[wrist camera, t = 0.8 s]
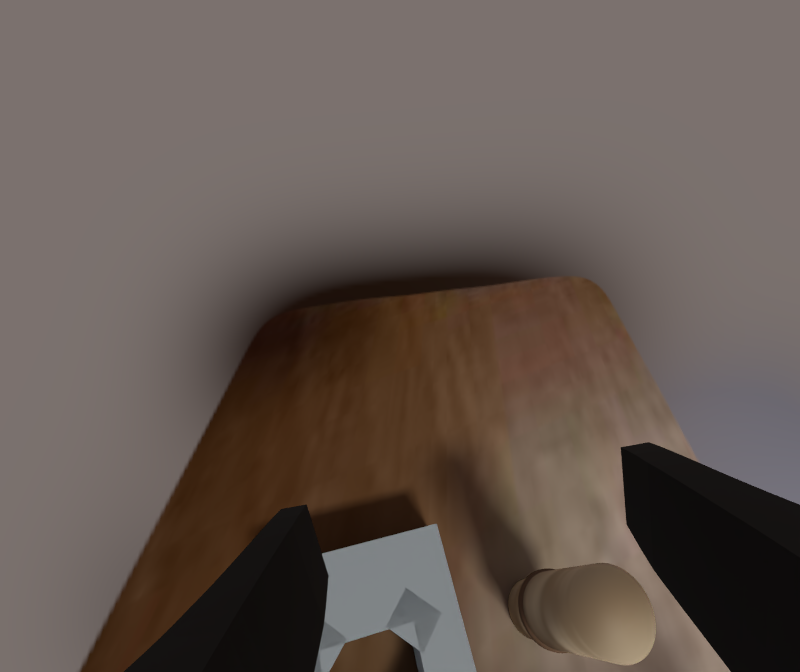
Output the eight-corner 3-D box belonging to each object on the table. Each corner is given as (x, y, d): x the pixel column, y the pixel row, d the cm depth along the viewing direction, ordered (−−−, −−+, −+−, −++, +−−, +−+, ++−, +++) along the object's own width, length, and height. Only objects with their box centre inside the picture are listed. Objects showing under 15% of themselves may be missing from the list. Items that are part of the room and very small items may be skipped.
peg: (575, 636, 22) (676, 651, 15) (517, 656, 21) (596, 682, 14) (548, 564, 23) (628, 550, 17) (493, 581, 23) (554, 573, 16)
